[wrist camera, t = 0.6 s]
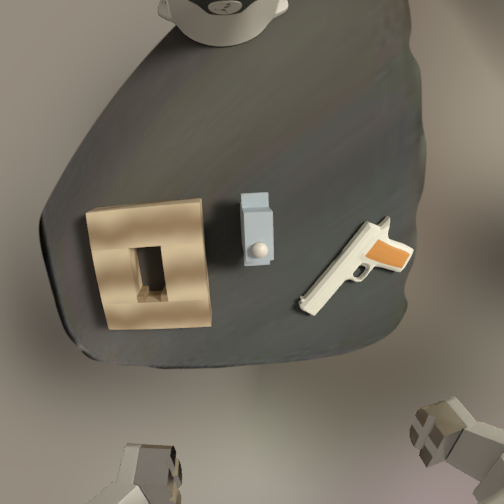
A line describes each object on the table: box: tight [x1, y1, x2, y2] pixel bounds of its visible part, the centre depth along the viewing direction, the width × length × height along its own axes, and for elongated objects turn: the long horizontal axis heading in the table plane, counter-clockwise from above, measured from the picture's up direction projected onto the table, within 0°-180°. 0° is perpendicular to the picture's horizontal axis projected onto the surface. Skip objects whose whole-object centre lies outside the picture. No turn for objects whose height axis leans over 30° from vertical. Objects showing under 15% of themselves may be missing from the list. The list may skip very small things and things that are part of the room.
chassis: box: [86, 198, 212, 330], centre depth 44 cm, size 18×16×4 cm
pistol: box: [298, 216, 413, 316], centre depth 49 cm, size 2×20×11 cm
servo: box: [240, 192, 274, 266], centre depth 42 cm, size 10×3×9 cm, turn 2°
